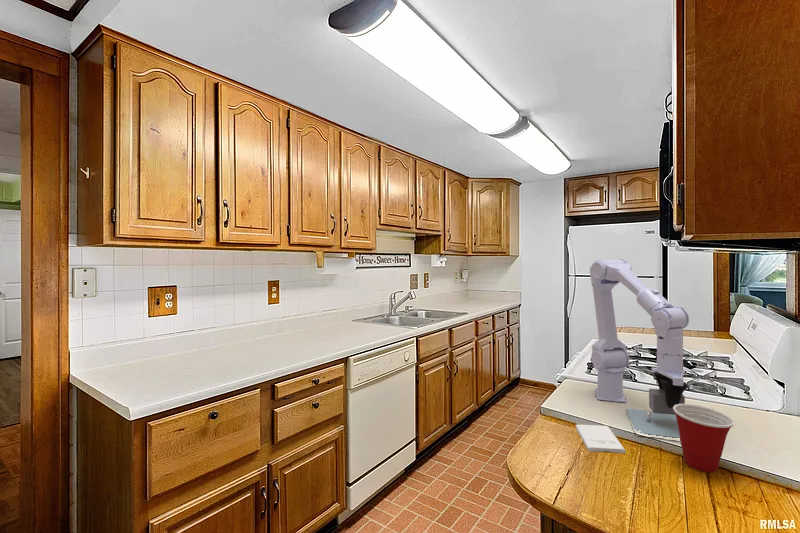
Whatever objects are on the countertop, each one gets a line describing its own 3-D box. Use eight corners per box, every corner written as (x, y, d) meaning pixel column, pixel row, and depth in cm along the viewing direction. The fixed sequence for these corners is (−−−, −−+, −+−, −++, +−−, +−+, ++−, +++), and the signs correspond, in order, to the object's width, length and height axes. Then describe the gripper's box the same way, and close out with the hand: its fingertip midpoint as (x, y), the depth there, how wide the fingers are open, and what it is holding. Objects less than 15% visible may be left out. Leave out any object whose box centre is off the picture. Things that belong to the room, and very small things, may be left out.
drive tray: (626, 411, 117) (626, 399, 117) (700, 419, 110) (700, 407, 110) (635, 436, 102) (636, 422, 102) (722, 447, 96) (722, 432, 95)
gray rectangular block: (649, 406, 110) (649, 388, 109) (679, 408, 107) (679, 390, 107) (653, 413, 105) (653, 394, 105) (684, 415, 103) (684, 396, 103)
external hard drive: (608, 431, 106) (625, 455, 94) (575, 430, 108) (588, 453, 96) (608, 425, 106) (625, 448, 94) (575, 424, 108) (588, 446, 96)
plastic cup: (738, 485, 81) (739, 427, 80) (673, 470, 86) (673, 416, 86) (730, 461, 90) (730, 408, 89) (671, 449, 95) (672, 399, 95)
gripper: (645, 345, 114) (645, 392, 114) (659, 359, 100) (659, 412, 101) (674, 346, 111) (674, 395, 112) (693, 361, 98) (693, 416, 98)
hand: (669, 403), depth 106 cm, fingers closed on gray rectangular block, 4 cm apart
